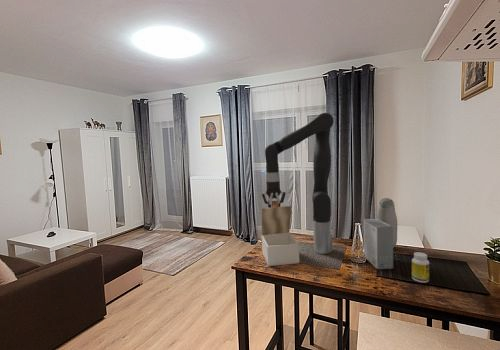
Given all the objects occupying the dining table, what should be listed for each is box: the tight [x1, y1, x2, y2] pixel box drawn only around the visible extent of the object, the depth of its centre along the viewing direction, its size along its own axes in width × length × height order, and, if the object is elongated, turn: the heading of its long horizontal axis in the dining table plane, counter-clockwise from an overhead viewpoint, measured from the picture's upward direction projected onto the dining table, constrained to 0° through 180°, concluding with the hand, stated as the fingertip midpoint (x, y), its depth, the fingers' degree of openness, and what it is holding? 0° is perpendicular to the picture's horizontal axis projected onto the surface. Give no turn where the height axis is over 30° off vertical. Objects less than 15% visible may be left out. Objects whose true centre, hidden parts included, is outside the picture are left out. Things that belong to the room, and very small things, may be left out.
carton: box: [261, 232, 300, 267], centre depth 139 cm, size 16×18×10 cm
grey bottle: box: [376, 197, 398, 249], centre depth 143 cm, size 10×10×28 cm
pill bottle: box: [411, 251, 430, 284], centre depth 109 cm, size 6×6×11 cm
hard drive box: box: [363, 218, 394, 270], centre depth 127 cm, size 16×8×20 cm, turn 179°
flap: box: [261, 200, 292, 236], centre depth 146 cm, size 16×18×6 cm
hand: (274, 210), depth 147 cm, fingers open, 4 cm apart
